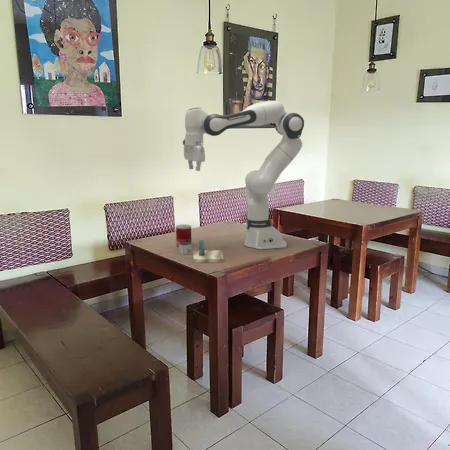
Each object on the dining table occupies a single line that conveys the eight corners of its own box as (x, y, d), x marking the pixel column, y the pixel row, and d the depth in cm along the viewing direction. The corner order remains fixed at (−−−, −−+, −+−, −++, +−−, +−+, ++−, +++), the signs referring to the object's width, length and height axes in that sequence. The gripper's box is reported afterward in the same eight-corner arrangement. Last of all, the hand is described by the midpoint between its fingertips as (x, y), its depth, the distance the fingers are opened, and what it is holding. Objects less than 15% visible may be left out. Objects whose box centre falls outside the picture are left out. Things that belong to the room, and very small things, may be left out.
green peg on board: (221, 253, 207) (221, 236, 205) (223, 261, 194) (223, 244, 192) (193, 253, 206) (193, 237, 204) (193, 262, 193) (192, 244, 191)
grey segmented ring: (191, 250, 212) (191, 241, 211) (191, 253, 206) (191, 245, 205) (179, 250, 212) (179, 242, 211) (178, 254, 206) (178, 245, 205)
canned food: (189, 248, 215) (188, 228, 213) (174, 247, 217) (173, 227, 214) (193, 244, 222) (192, 224, 220) (179, 244, 224) (178, 224, 222)
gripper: (208, 142, 197) (208, 171, 201) (193, 141, 216) (193, 168, 219) (195, 142, 195) (196, 172, 198) (181, 141, 213) (181, 168, 216)
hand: (194, 169), depth 208 cm, fingers open, 8 cm apart
